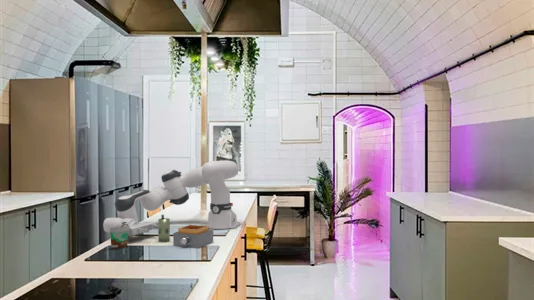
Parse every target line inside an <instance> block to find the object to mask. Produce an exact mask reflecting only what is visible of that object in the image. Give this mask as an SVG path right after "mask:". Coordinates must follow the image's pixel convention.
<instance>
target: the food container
mask: <svg viewBox="0 0 534 300" xmlns="http://www.w3.org/2000/svg"><path fill="white" fill-rule="evenodd" d="M129 230H130V227H129V225H128V224H122V226H118V227H115V228H110V234H109V235H110V249H111V250H112V249H113V250H117V249H118V250H119V249H125V248H127V247H128V243H129V236H128V231H129Z"/></svg>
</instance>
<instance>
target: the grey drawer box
mask: <svg viewBox="0 0 534 300" xmlns="http://www.w3.org/2000/svg"><path fill="white" fill-rule="evenodd" d="M172 234H173V237H172V238H173V241H172V242H173V244H172V245H173V246H175V247H186V248H195V249H199V248H202V247H205V246H207V245H209V244H212V243H213V242H214V230H213V229H210V228H208V226H206V225H197V224H196V225H195V224H189V225H186V226H182V227H179V228H178V230H177V231H175V232H173V233H172Z"/></svg>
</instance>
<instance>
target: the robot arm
mask: <svg viewBox="0 0 534 300" xmlns="http://www.w3.org/2000/svg"><path fill="white" fill-rule="evenodd" d="M238 172H239V167H238V164H237V163H236V162H235V161H232V160H228V159H227V160H226V159H225V160H211V161H207V162H206V163H204V164H203V165H202V166H199V167H195V168H193V169H191V170H188V171H187V172H185V173H184V174H182V171H178V170H176V169H170V170H167V171H165V172H164V173H163V174H162V175H161V177H160V178H161V182H162V183H163V186H164V187H163V186H158V187H155V188H153V189H151V190H148V189H141V190H138V191H135V192H132V193H130V194H125V195H122V196H120V197H117V199H116V200H115V202H114V206H115V209H116V213H117V217H106V218H105V219H104V221H103V224H102V226H103V230H104V232H105V233H107V234H109V235H110V228H115V227H118V226H122V224H128V225H129V227H130V230H129V231H128V237H134V236H136V235H139V234H147V233H149V231H152V230H158V224H157V222H156V221H141V222H139V218H138V213H137V209H136V202H137V201H139V203H140V205H141V207H142V208H143V209H144V210H147V211H152V212H153V211H156V210H157V209H159V208H160V207H161V206H162V205H164V204H165V203H166V202H167V201H168V203H169V204H172V205H174V206H175V205H176V206H180V205H183V204H186V202H188V200H189V199H190V195H189V192H188V190H187V188H189V189H193V188H198V187H201V186H205V185H207V184H208V185H209V189H210V203H209V204H210V205H209V209H210V210H209V212H208V216H207V224H205V226H208V228H209V229H211V230H213V229H214V230H227V229H236V228H237V227H238V226H240V225H241V222H239V221H237V218H238V217H237V214H236V213H235V211H233V210H232V207H233V206H234V203H233V202H231V191H230V189H229V187H228V186H226V182H225V181H226V180H228V179H232V178H234V177H236V176H237V175H238Z"/></svg>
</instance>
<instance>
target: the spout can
mask: <svg viewBox="0 0 534 300" xmlns="http://www.w3.org/2000/svg"><path fill="white" fill-rule="evenodd" d="M160 216H161V218H158V219H157V221H158V222H157V225H158V229H157V231H158V233H157V234H158V243H168V242H170V241H171V231H170V230H171V225H170V224H171V223H170V222H171V220H170V218H167V217H165V214H161V215H160Z"/></svg>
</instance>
